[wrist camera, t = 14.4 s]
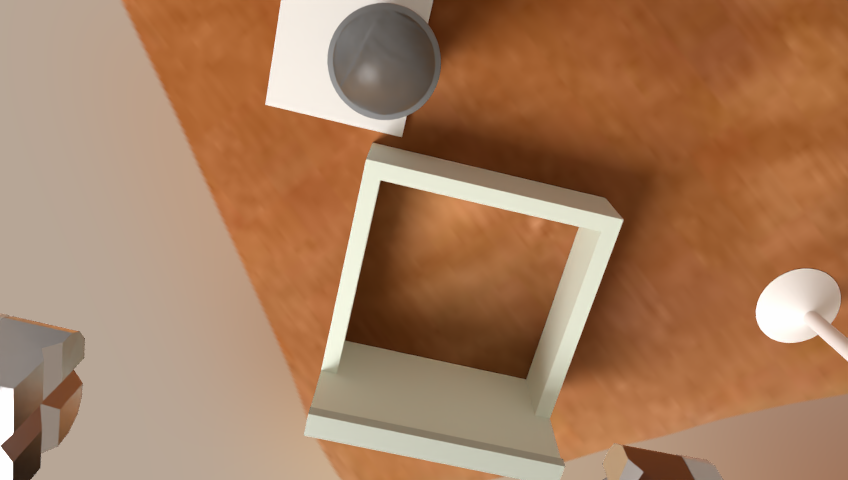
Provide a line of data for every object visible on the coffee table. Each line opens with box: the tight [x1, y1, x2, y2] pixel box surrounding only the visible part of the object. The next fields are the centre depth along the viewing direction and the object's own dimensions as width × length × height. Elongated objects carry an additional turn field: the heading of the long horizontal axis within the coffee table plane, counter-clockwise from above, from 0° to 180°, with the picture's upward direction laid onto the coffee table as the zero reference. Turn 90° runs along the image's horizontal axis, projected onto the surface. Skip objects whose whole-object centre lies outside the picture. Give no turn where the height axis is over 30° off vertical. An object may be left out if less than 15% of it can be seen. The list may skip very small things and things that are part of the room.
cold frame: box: [304, 143, 623, 480], centre depth 47 cm, size 18×18×11 cm
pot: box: [327, 3, 441, 120], centre depth 41 cm, size 6×6×9 cm
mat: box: [265, 0, 433, 137], centre depth 46 cm, size 10×10×1 cm
